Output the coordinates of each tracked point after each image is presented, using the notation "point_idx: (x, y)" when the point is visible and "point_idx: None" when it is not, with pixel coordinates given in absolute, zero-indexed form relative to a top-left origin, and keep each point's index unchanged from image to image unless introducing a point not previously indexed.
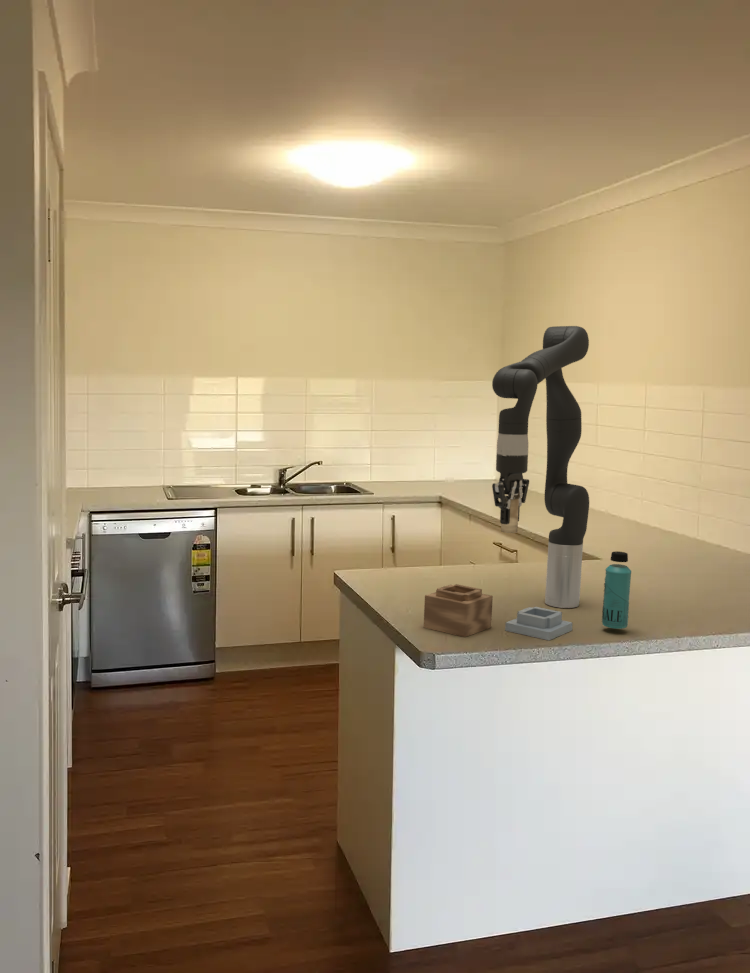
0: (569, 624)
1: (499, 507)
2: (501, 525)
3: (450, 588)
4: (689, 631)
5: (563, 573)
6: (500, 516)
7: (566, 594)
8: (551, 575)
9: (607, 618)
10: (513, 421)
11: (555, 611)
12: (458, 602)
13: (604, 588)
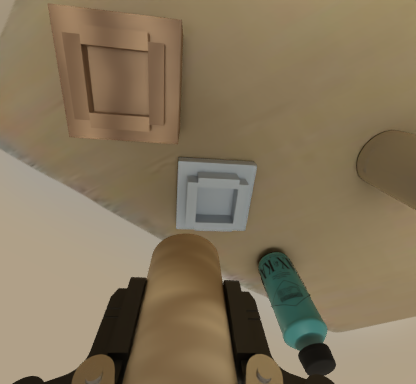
0: (235, 229)
1: (85, 362)
2: (156, 260)
3: (123, 48)
4: (315, 306)
5: (403, 192)
6: (104, 314)
7: (373, 181)
8: (406, 164)
9: (262, 269)
10: None
11: (238, 219)
12: (67, 115)
13: (287, 292)
